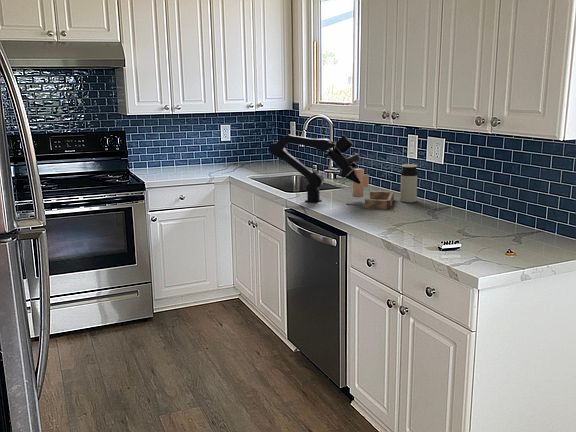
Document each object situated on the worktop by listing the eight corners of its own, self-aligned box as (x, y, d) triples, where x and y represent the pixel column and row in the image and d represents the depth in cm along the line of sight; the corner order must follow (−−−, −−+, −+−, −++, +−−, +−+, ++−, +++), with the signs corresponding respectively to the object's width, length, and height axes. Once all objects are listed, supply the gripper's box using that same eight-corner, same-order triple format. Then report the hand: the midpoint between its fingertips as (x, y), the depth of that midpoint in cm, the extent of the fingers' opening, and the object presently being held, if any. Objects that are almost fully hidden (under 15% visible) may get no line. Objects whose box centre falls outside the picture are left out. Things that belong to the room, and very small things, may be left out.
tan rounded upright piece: (351, 197, 278) (351, 169, 275) (352, 195, 283) (353, 168, 280) (367, 197, 276) (368, 170, 273) (368, 195, 281) (369, 168, 278)
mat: (346, 204, 277) (346, 203, 277) (349, 200, 286) (349, 199, 286) (367, 205, 274) (367, 204, 274) (369, 201, 284) (369, 200, 284)
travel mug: (419, 202, 280) (420, 165, 276) (405, 203, 278) (406, 166, 274) (411, 199, 287) (412, 163, 283) (397, 200, 285) (398, 164, 281)
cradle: (364, 208, 268) (364, 199, 267) (370, 198, 290) (370, 191, 289) (389, 209, 265) (390, 200, 265) (393, 199, 287) (393, 191, 286)
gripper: (347, 149, 266) (370, 174, 266) (353, 145, 284) (374, 168, 284) (331, 166, 270) (353, 189, 270) (337, 161, 288) (358, 183, 288)
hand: (360, 182), depth 278 cm, fingers closed on tan rounded upright piece, 5 cm apart
